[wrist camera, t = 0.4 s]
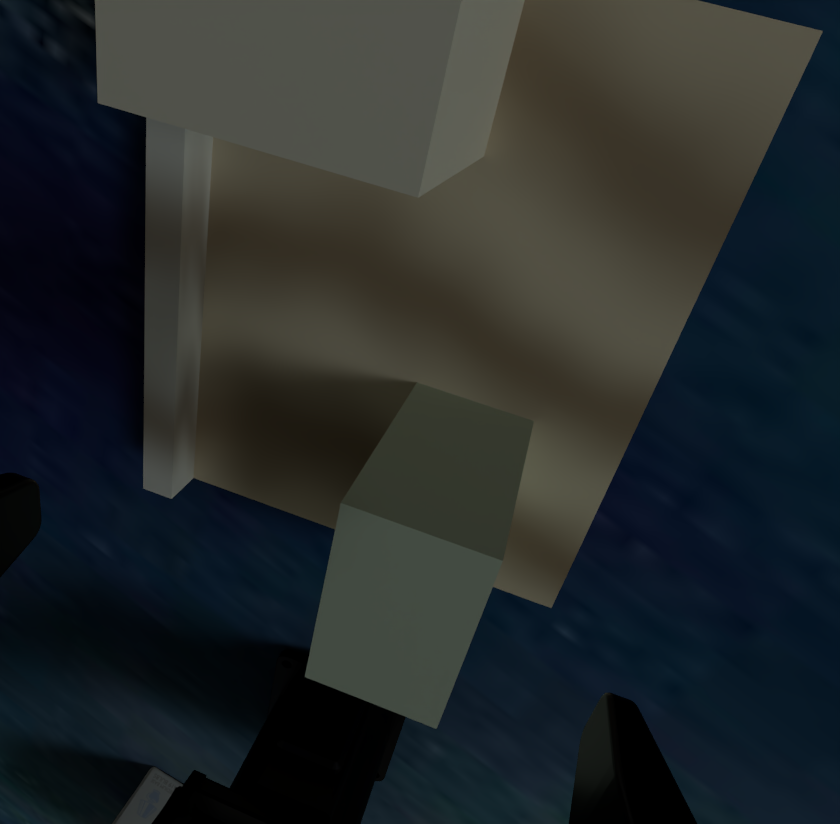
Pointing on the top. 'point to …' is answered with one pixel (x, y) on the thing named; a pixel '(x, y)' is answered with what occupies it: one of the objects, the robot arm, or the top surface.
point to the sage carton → (418, 553)
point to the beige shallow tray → (462, 271)
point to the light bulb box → (148, 798)
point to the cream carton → (317, 78)
